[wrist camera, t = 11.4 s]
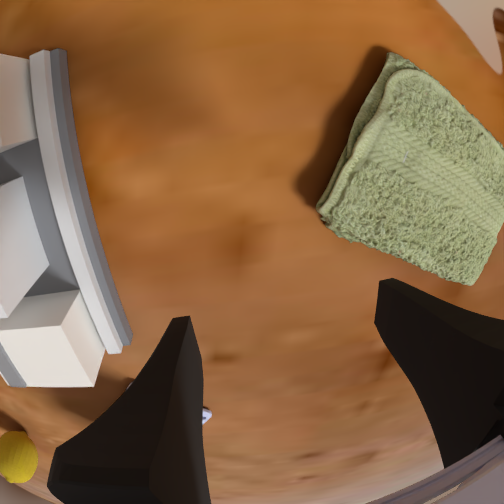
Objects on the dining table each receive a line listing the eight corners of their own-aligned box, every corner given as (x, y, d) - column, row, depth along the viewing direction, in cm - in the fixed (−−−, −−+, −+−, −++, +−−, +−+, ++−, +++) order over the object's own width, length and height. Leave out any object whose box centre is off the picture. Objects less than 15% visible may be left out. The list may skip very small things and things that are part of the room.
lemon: (46, 448, 28) (34, 498, 21) (10, 434, 26) (-5, 480, 19) (40, 428, 26) (25, 483, 19) (2, 412, 25) (-18, 462, 17)
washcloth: (375, 45, 16) (401, 37, 13) (511, 164, 21) (535, 173, 18) (298, 219, 21) (314, 237, 18) (455, 285, 25) (475, 302, 23)
